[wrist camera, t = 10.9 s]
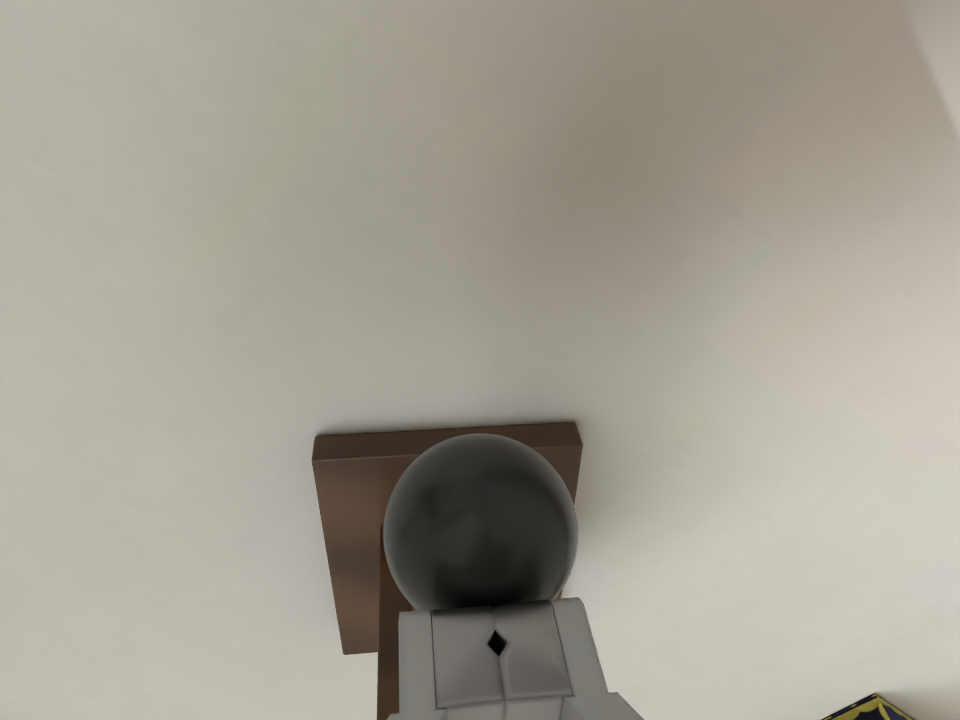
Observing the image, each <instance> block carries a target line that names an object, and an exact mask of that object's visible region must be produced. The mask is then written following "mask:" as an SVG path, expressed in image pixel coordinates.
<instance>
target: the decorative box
mask: <svg viewBox="0 0 960 720" xmlns="http://www.w3.org/2000/svg"><path fill="white" fill-rule="evenodd" d="M824 720H914V719H912V718H911V717H909V716H907V715H906V714H904V713H903V712H901V711H900V710H898V709H897V708H895V707H894V706H892V705H891V704H889V703H888V702H886V701H885V700H883V699H882V698H880V697H879V696H877V695H876V694H874V695H872V696H870V697H868V698H866V699H864V700H862V701H860V702H858V703H856V704H854V705H852V706H850V707H848V708H846V709H844V710H842V711H840V712H838V713H836V714H834V715H832V716H830V717H828V718H826V719H824Z"/></svg>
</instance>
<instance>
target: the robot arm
mask: <svg viewBox="0 0 960 720" xmlns="http://www.w3.org/2000/svg"><path fill="white" fill-rule="evenodd" d="M398 629H399V713H395V714H390V715H389V717H388V719H387V720H644V719H643V718H642V717H641V716H640V715H639V714H638V713H637V712H636V711H635V710H634V709H633V708H632V707H631V706H630V705H629V704H628V703H627V702H626V701H625V700H624V699H623V698H622V696H621V695H620V694H619V693H618V692H614V693H608V690H607V686H606V682H605V679H604V675H603V672H602V668H601V664H600V661H599V657H598V654H597V650H596V646H595V643H594V639H593V636H592V632H591V629H590V625H589V621H588V618H587V614H586V611H585V607H584V604H583V602H582V601H581V600H580V598H578V597H575V598H565V599H555V600H548V599H545V600H535V601H525V602H514V603H504V604H494V605H490V606H479V607H465V608H450V609H436V610H431V613H430V610H418V611H406V612H400V613H399V622H398Z"/></svg>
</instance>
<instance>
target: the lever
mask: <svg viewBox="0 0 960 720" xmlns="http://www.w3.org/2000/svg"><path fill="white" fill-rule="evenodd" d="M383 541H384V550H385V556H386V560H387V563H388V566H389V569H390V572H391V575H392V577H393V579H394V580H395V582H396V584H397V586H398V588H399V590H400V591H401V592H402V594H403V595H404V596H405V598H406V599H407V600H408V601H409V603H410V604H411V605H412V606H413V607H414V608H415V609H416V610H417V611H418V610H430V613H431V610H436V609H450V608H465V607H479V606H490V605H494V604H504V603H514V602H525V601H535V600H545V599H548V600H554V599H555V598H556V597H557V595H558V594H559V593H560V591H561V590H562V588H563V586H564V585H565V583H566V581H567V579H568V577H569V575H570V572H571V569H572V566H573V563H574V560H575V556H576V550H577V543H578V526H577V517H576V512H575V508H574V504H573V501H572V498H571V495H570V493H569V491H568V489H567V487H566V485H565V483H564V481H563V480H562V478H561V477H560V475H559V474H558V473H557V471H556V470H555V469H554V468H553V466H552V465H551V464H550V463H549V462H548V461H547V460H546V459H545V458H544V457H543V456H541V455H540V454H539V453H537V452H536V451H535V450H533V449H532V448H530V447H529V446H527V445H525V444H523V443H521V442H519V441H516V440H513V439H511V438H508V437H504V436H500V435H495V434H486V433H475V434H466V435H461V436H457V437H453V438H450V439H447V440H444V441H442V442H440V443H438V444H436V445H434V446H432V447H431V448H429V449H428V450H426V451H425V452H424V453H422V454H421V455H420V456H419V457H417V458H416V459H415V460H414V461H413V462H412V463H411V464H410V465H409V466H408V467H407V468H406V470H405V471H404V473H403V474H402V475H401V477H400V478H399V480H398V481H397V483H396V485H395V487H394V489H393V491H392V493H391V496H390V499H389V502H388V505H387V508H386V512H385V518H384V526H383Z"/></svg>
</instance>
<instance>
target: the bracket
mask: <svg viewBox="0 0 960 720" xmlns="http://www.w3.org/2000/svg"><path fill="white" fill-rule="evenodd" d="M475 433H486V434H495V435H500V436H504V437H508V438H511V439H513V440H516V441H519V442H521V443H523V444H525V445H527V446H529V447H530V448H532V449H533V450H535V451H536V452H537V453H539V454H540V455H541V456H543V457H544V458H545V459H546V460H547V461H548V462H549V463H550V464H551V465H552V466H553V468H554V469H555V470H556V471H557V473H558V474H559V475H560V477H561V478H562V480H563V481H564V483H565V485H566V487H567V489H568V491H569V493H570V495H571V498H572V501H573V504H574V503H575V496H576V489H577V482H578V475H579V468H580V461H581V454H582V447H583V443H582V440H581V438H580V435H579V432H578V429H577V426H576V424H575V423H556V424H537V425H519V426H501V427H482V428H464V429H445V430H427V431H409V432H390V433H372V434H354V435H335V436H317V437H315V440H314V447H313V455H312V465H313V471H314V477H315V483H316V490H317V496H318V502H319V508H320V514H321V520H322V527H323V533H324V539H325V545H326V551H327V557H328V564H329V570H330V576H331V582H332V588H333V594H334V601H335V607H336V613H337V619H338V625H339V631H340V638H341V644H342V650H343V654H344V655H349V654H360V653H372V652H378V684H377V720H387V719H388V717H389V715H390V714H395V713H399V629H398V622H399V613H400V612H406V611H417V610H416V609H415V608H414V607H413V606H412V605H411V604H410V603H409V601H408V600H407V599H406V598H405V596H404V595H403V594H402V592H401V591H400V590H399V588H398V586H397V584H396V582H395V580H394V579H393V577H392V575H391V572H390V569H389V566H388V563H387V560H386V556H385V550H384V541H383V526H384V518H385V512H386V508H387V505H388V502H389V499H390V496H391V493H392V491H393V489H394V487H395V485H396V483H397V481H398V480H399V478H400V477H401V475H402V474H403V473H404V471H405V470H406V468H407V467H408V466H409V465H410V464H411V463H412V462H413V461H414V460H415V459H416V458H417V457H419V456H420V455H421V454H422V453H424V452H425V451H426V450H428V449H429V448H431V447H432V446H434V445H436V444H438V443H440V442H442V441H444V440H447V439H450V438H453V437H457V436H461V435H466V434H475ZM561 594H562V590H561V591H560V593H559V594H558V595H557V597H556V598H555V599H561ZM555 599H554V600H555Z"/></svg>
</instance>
